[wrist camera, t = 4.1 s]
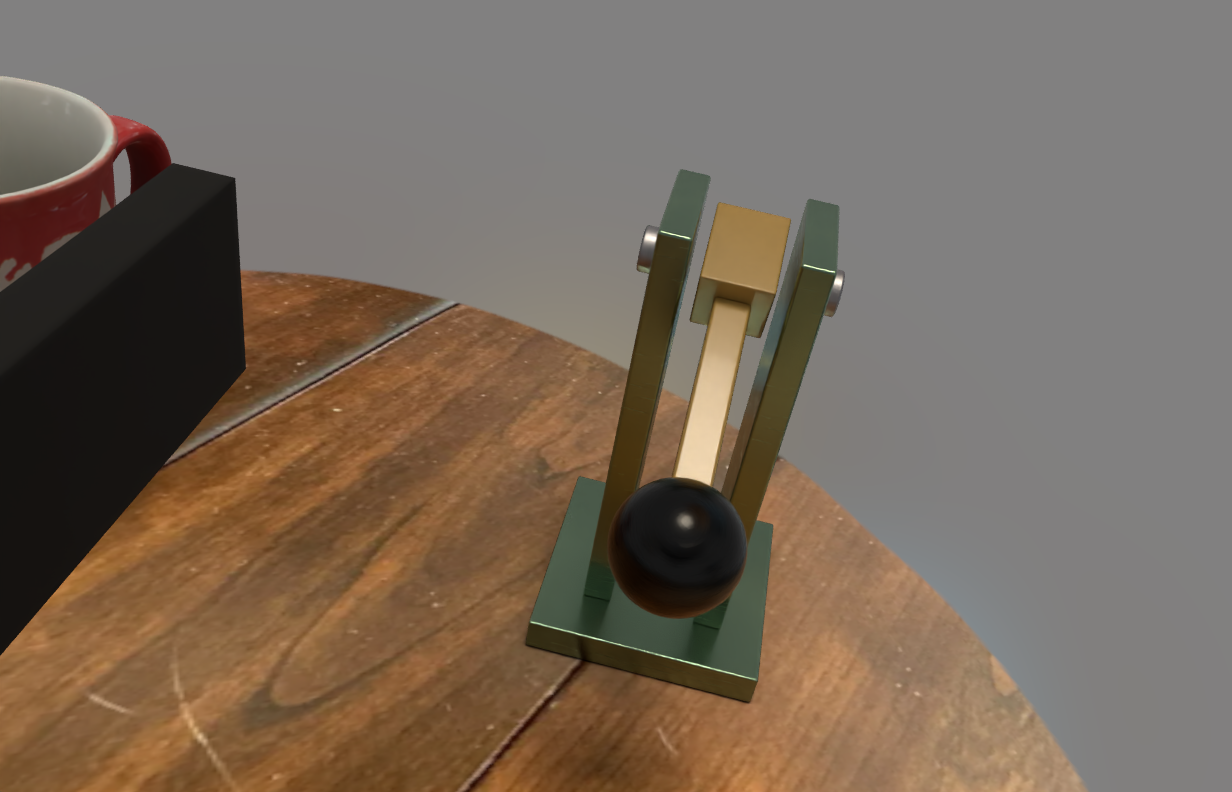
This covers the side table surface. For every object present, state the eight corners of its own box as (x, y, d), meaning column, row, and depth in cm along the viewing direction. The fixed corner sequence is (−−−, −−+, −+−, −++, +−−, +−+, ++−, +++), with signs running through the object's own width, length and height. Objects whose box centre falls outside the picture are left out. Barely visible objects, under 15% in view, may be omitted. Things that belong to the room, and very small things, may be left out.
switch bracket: (750, 703, 36) (894, 320, 27) (525, 645, 37) (590, 248, 28) (766, 545, 43) (888, 191, 34) (574, 497, 43) (641, 135, 34)
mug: (13, 594, 35) (-79, 236, 27) (-178, 486, 38) (-314, 127, 30) (270, 406, 45) (257, 101, 37) (105, 329, 47) (60, 27, 39)
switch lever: (721, 651, 28) (745, 609, 25) (589, 616, 28) (595, 571, 25) (793, 281, 34) (819, 210, 31) (682, 256, 34) (698, 182, 31)
